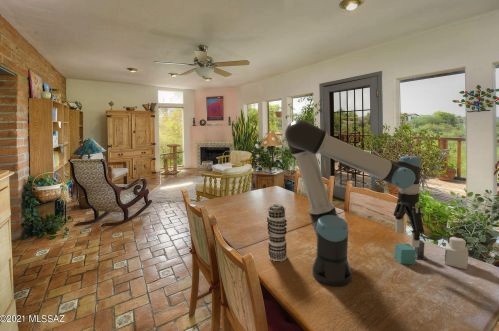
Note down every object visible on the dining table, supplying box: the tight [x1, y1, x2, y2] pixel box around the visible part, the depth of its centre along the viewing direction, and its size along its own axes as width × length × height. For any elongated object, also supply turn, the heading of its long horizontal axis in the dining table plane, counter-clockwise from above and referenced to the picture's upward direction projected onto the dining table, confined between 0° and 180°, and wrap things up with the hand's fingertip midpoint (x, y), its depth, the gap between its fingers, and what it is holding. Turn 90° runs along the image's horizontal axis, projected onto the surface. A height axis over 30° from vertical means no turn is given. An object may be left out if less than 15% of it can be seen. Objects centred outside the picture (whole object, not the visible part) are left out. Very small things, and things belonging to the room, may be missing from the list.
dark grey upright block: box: [414, 240, 429, 261], centre depth 110 cm, size 5×5×7 cm
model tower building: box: [266, 204, 288, 262], centre depth 113 cm, size 9×9×25 cm
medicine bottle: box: [444, 234, 469, 270], centre depth 103 cm, size 7×7×12 cm
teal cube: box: [394, 243, 416, 265], centre depth 107 cm, size 6×6×7 cm
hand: (406, 239), depth 106 cm, fingers open, 13 cm apart
